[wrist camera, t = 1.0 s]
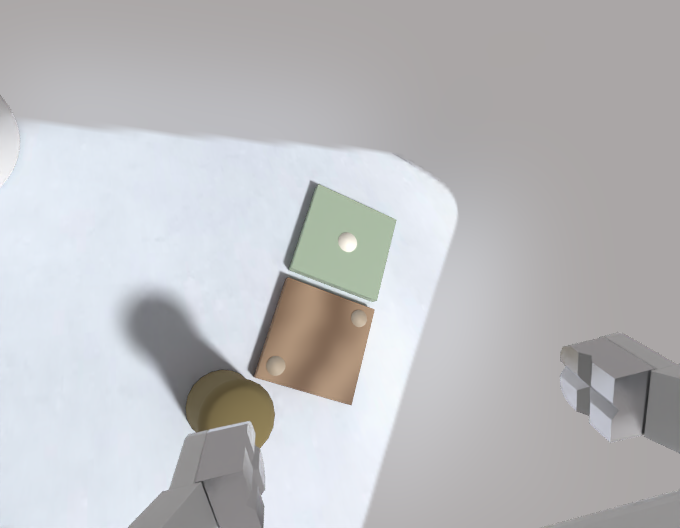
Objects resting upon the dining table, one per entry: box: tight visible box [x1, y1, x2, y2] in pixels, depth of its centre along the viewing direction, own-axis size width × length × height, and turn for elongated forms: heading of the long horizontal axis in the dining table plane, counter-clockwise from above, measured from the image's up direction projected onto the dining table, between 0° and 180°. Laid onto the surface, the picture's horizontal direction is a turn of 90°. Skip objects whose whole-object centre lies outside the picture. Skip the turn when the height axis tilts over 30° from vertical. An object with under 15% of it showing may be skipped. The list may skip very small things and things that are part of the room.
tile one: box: [289, 184, 396, 302], centre depth 44 cm, size 10×10×1 cm
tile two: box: [254, 277, 374, 405], centre depth 40 cm, size 10×10×1 cm
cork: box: [185, 370, 275, 448], centre depth 31 cm, size 6×6×11 cm
